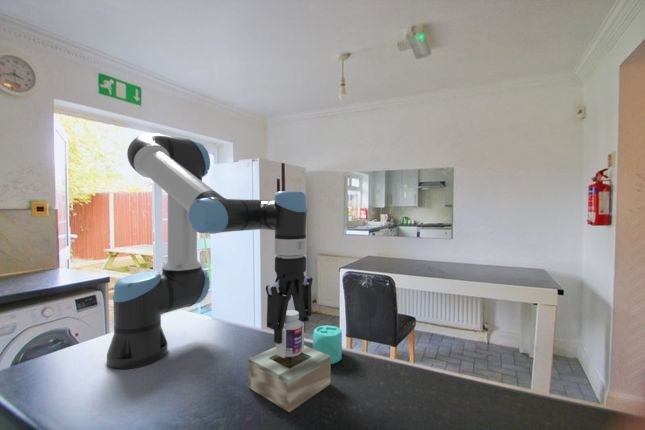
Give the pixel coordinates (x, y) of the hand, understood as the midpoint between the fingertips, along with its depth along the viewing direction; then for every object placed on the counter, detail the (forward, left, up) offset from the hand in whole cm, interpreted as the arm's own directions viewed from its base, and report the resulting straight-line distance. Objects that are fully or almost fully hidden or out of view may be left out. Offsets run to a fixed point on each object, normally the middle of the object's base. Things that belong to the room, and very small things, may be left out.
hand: (290, 350), depth 76 cm
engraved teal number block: (-2, +17, -9) cm, 19 cm away
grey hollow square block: (0, 0, -9) cm, 9 cm away
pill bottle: (0, 0, -1) cm, 1 cm away
